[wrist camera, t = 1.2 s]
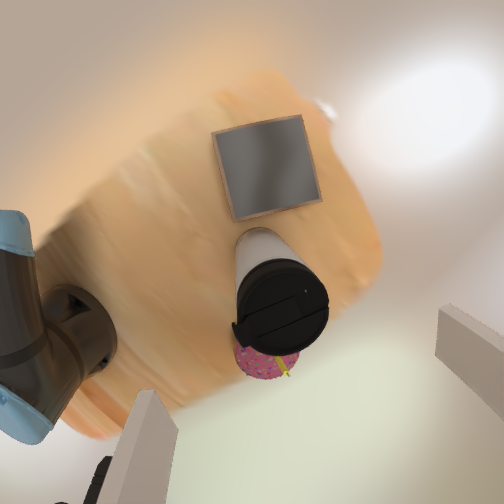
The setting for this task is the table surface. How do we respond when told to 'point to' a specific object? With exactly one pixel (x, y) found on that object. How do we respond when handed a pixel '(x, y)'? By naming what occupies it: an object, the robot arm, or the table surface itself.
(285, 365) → the cupcake
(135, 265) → the table surface
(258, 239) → the travel mug
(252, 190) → the walnut stand
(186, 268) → the table surface
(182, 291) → the table surface
